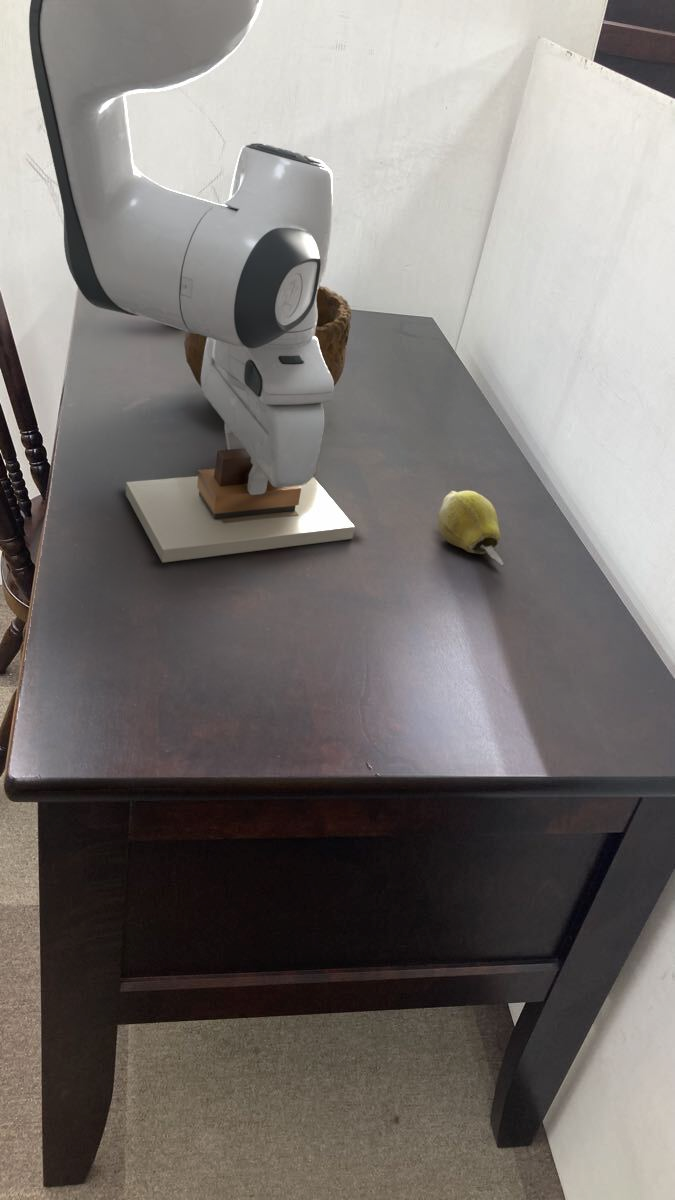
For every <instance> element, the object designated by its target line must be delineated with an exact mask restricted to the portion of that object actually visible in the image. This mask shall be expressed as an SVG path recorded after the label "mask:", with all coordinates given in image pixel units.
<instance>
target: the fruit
mask: <svg viewBox="0 0 675 1200" xmlns="http://www.w3.org/2000/svg"><path fill="white" fill-rule="evenodd" d="M441 504H442V506H441V508H440V510H439V511H438V514H437V520H436V521H437V523H436V524H437V527H438V529H439V532H440V533H441V535H442V538H444V540H445V541H446V542H447V543H449V544H450V545H453V546H455V547H458V548H461V549H463V550H464V551H466V552H467V553H470V554H477V555H484V554H485V553H486V554H488V556H489V557H490V558H491V559H492V560H493V561H495V562H496V563H497V564H498V565H499V566H500V567H504V562H503V561H502V559H501V557H500V556H499V554H498V553H497V551H496V550H494V549H495V548H496V547H497V546H498V545H499V544H500V541H501V533H500V530H499V521H498V515H497V512H496V509H495V507H494V505H493V503H492V502H491V501H490V500H489V499H487V498H486V497H485V496H483V495H482V494H480V493H478V492H476V491H474V490H461V491H456V490H451V491H450V492H449V493H448V494H446V496H445V497H444V498H443V499H442V503H441Z"/></svg>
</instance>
